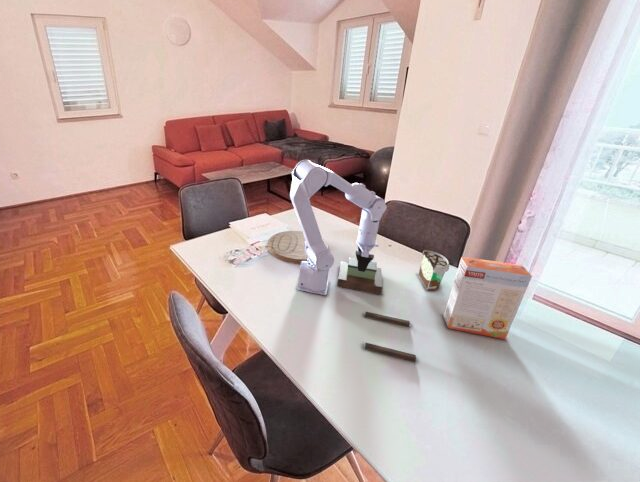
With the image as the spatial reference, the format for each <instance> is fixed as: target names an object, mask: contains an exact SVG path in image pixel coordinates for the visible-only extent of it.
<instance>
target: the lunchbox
mask: <svg viewBox="0 0 640 482" xmlns="http://www.w3.org/2000/svg"><path fill="white" fill-rule="evenodd" d="M347 260H348V261H347V263H348V267H347V275H351V276H357V277H362V278H367V279H373V280H374V279H375V275H376V272H377V268H378V267H377V266H378V265H377V262H375V261H372V260H371V261H370V263H369V264H368V266H367V269H366V270H365V272H362V271H358V260H357V258H352V257H348V259H347Z"/></svg>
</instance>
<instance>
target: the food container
mask: <svg viewBox="0 0 640 482" xmlns="http://www.w3.org/2000/svg"><path fill="white" fill-rule="evenodd" d="M421 254H422V255H421V261H420V264H419V265H420V266H419V270H418V274H417V275H418V277H419V279H420V281H421V283H422V284H423V286H424V288H425V290H426V291H436V290H438V289H439V287H440V285H441V283H442V280H443V278H444V276H445V273H446V272H448V271H449V270H450V262H449V260H448V258H447V257H446V256H444V255H443V254H440V253H438V252H436V251H433V250H428V249H423V251H422V253H421Z"/></svg>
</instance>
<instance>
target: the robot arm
mask: <svg viewBox="0 0 640 482" xmlns="http://www.w3.org/2000/svg"><path fill="white" fill-rule="evenodd" d="M291 178H292V180H291V184H290V191H289V198H290V201H291V204H292V207H293V209H294V212H295V215H296V217H297V220H298V223H299V226H300V228H301V231H302V232H303V234H304V237H305V240H306V241H305V242H304V243H305V253H306V255H307V256H308V259H307V261H302V262H301V264H300V267H299V271H298V272H299V273H298V283H297V284H298V286H297V291H302V292H307V293H313V294H317V295H322V296H327V294H328V293H327V292H328V289H329V283H330V282H329V280H328V279H329V271H330V269H331V268H332V267H333V265H334V264H335V257H334V255H333V254H332V253H331V252H330V251H329V247H328V248H327V247H326V245H325V243H324V242H323V240H324V239H323V237H322V234H321V230H320V228H319V225H318V222H317V219H316V216H315V213H314V209H313V206H312V203H311V200H310V199H311V198H312V197H313V196H314V195H315V194H316V193H317V192H318V191H319V190H320V189H321V188H322V187H323V186H324V187H328V186H332V187H334V188H336V189H338V190H339V191H341V192H343V193H344V196H345V199H346V200H348V201H349V202H351V203H353V204H355V205H356V206H358V207H359V208H360V209H361V213H360V214H361V215H360V221H359V226H358V231H357V232H358V233H357V237H356V240H355V243H356V246H357V250H356V251H355V257H356V259H357V260H358V271H362V272H365V270H366V269H367V266H368V264H369V263H370V261H371V262H372V261H373V260H374V258H375V254H373V253H372V254H371V253H370V252H371V251H372V250H373V249H374V248H375V247H379V245H380V243H379V241H377V236H378V231H379V226H380V221H381V219H382V218H383V214H384V213H385V212H386V211H387V208H388V206H387V204H386V200H385V199H383V198H382V197H380V196H378V195H376V192H375V191H373V190H369V189H367V188H366V185H365V184H364V183H362V182H360V183H358V182H354V183H350V182H348V180H346V179H344V178H343V177H341V176H340V175H338V174H337V173H336V172H334V171H332V170H330V169H329V168H326V167H324V166H322V165H319V164H317V163H314V162H312V161H311V160H309V159H303V160H299V162H298V163H296V164H295V167H294V168H293V169H292V171H291ZM322 239H323V240H322Z"/></svg>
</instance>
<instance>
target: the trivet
mask: <svg viewBox="0 0 640 482" xmlns="http://www.w3.org/2000/svg"><path fill="white" fill-rule="evenodd" d="M322 240H323V242H324V243H325V245H326V247H327V248H328V249H329V245H328V243H327V241H326V240H325V239H324V238H322ZM305 241H306V240H305V237H304V234H303V231H302V230H287V231H281V232H278V233H275V234H273V235H272V236H270V237H269V239H268V242H267V250H268V251H269V253H270V254H271V255H272V256H273V257H275V258H277V259H279V260H281V261H284V262H286V263H292V264H300V265H301V262H302V261H307V259H308V256H307V255H306V253H305V243H304V242H305ZM268 246H269V247H268ZM269 248H270V249H269Z"/></svg>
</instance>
